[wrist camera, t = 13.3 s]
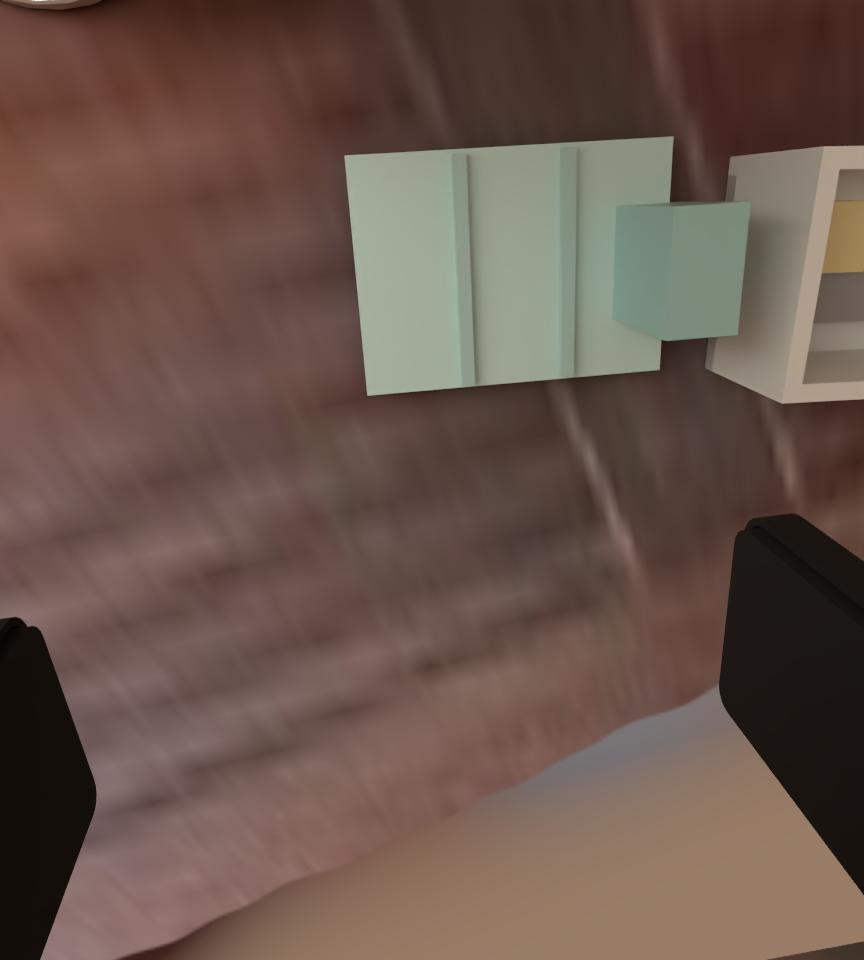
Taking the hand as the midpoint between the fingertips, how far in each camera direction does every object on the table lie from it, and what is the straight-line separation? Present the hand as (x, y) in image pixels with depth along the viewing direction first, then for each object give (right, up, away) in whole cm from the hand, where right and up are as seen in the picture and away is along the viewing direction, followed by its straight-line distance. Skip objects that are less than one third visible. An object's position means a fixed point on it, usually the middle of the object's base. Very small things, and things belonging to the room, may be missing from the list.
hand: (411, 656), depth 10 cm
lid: (+4, +13, +25) cm, 28 cm away
